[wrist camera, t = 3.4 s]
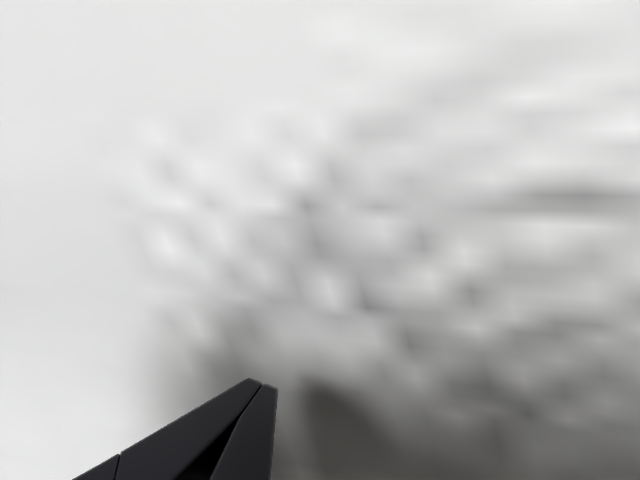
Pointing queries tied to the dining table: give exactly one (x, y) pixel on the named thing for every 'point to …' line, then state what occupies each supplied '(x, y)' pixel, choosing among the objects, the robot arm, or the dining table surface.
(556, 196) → the dining table surface
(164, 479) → the robot arm
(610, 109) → the dining table surface
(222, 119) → the dining table surface
